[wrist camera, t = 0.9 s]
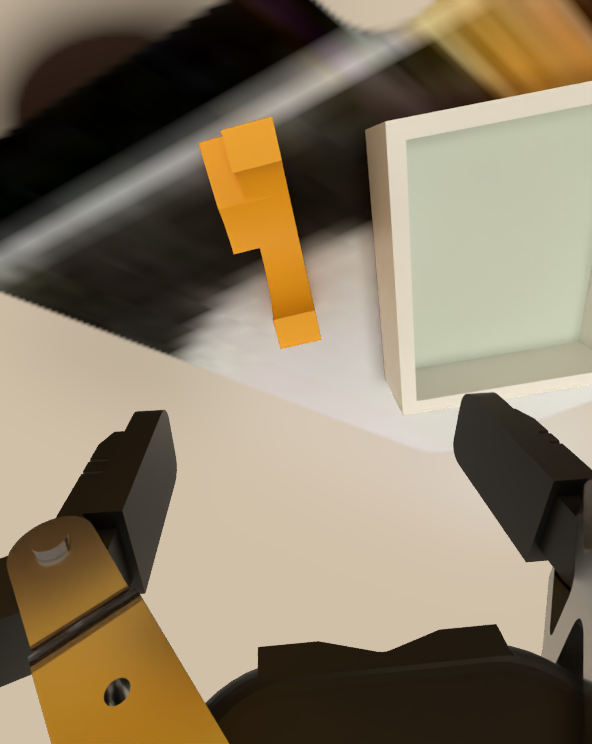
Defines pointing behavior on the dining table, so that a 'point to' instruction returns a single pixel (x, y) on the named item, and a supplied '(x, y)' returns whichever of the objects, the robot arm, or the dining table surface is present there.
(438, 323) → the walled box
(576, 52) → the dining table surface
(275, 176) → the pipe clamp
